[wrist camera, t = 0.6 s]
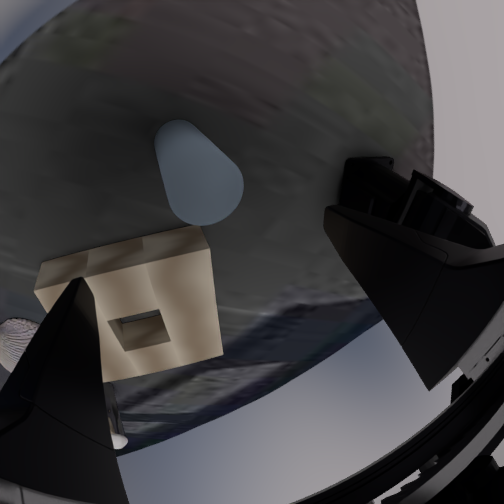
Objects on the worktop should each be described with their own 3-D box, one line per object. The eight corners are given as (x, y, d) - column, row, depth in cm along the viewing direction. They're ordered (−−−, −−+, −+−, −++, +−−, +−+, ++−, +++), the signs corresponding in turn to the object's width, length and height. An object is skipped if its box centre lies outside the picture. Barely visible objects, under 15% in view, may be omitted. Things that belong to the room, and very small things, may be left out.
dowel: (198, 116, 17) (243, 149, 11) (200, 159, 19) (244, 217, 13) (151, 123, 16) (162, 161, 10) (156, 166, 18) (173, 232, 12)
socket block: (198, 223, 22) (209, 248, 20) (213, 330, 31) (223, 354, 28) (42, 262, 18) (33, 290, 16) (99, 356, 27) (100, 382, 24)
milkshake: (79, 390, 29) (86, 457, 22) (94, 374, 28) (102, 448, 21) (107, 398, 32) (118, 461, 25) (123, 383, 31) (137, 452, 24)
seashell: (-5, 320, 16) (76, 382, 21) (16, 288, 21) (84, 345, 26) (-25, 364, 16) (41, 412, 21) (-10, 334, 21) (49, 379, 26)
